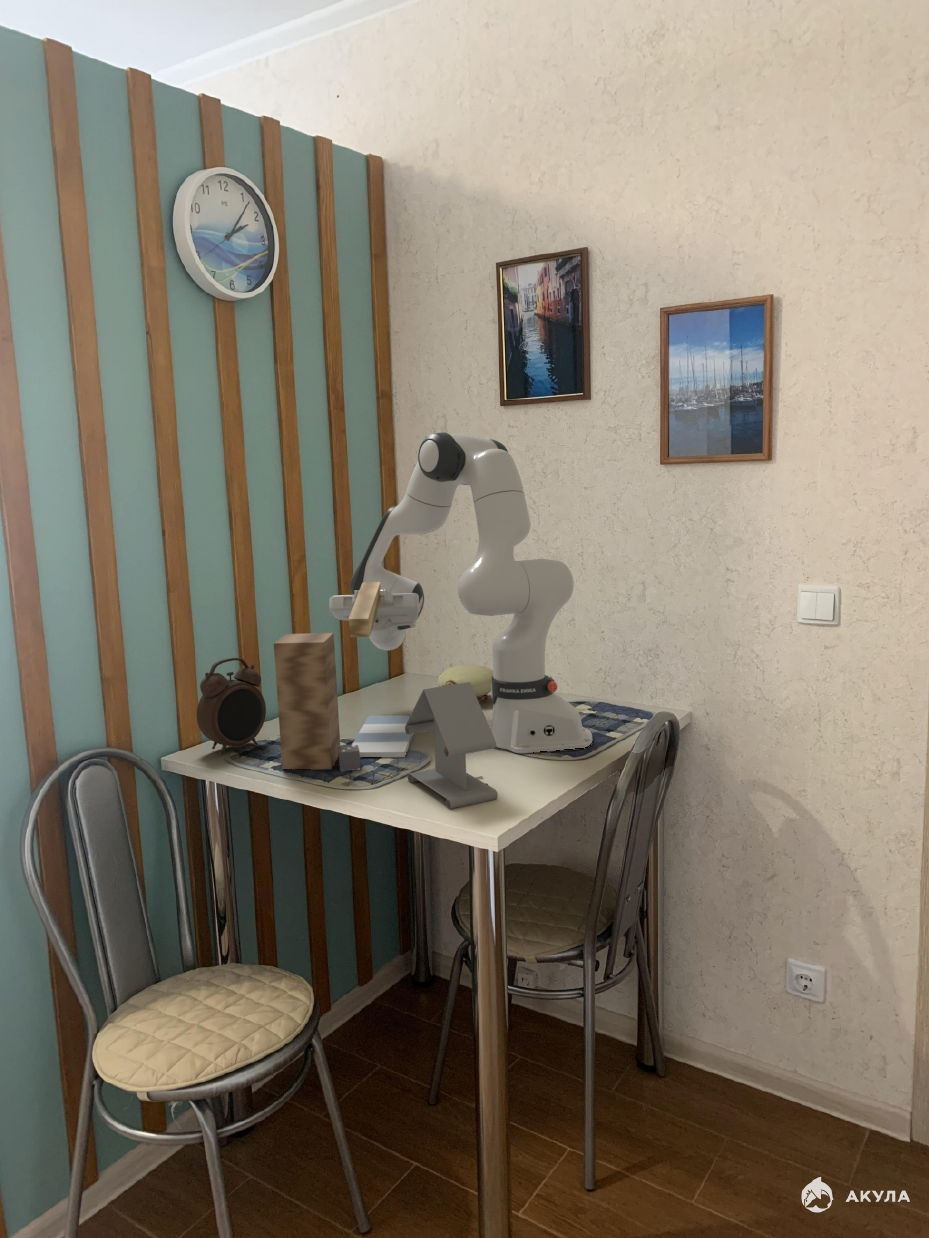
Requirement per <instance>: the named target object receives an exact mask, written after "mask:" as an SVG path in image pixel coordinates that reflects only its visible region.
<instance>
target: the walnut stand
mask: <svg viewBox="0 0 929 1238" xmlns="http://www.w3.org/2000/svg"><path fill="white" fill-rule="evenodd" d="M273 651H274V667H275V668H274V669H275V681H276V696H277V710H278V723H279V724H278V725H279V726H278V727H279V740H280V753H281V767H282V770H283V769H292V770H291V771H293V769H294V770H295V769H311V770H327V769H326V768H332V766H333V764H334V763H335V761H336V760H337V761H338V759H339V758H338V757H339V753H338V747H341V733H340V732H341V731H340V717H339V701H338V685H337V684H338V683H337V667H336V666H337V664H336V651H335V634H334V632H323V633H322V632H315V633H312V632H311V633H285V634H284V635H282V636H281V637H280V638H279V639H277V640H276V641H274V643H273ZM337 758H338V759H337ZM337 761H336V762H337ZM335 764H336V763H335ZM335 764H334V765H335ZM333 767H334V766H333ZM323 768H324V769H323ZM332 769H333V768H332Z"/></svg>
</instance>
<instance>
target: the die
mask: <svg viewBox="0 0 929 1238" xmlns="http://www.w3.org/2000/svg"><path fill="white" fill-rule="evenodd" d="M338 753H339V758H338V766H340V767H339V771H340V770H348V769H357V768H360V769H361V758H360V751H359V747H358V745H353V746H351V745H344V746H342V745H341V746H340V747H338Z"/></svg>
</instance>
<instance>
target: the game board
mask: <svg viewBox="0 0 929 1238" xmlns="http://www.w3.org/2000/svg"><path fill="white" fill-rule="evenodd" d="M410 716H411V714H410V715H409V714H408V715H407V714H405V715H403V714H402V715H368V716H367V718H366V720H365V721H364V723H363V725H362V726H361V728H360V730H359V731H358V733H357V735H356V737H355V739H354V741H353V742H352V743H351V745H350V746H353V745H358V747H359V751H360V757H382V758H406V756H407V753H408V751H409V748H410V745H411V743H412V740H413V736H414V734H409V735H407V734H406V732H405V726H406V724H407V722H408V720H409V718H410ZM406 752H407V753H406ZM405 755H406V756H405Z"/></svg>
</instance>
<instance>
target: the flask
mask: <svg viewBox="0 0 929 1238" xmlns="http://www.w3.org/2000/svg"><path fill="white" fill-rule="evenodd" d="M492 677H493V668H490V667H487V666H484V665H479V664H475V663H464V664H459V665H455V666H451V667H449V668H447V669H446V670H445V671H443V672H442V673H441V674H440V675H439V676H438V679H437V687H442V686H448V685H454V684H461V683H467V682H470V683H471V686H472V688H473V690H474V693H475V695H476V697H477V698H478V697H481V696H482V697H481V698H479V699H478V702H479V703H480V702H482V701H484V700H486V699H485V698H487V699H488V698H489V695H488V694H489V693H491V681H492Z"/></svg>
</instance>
